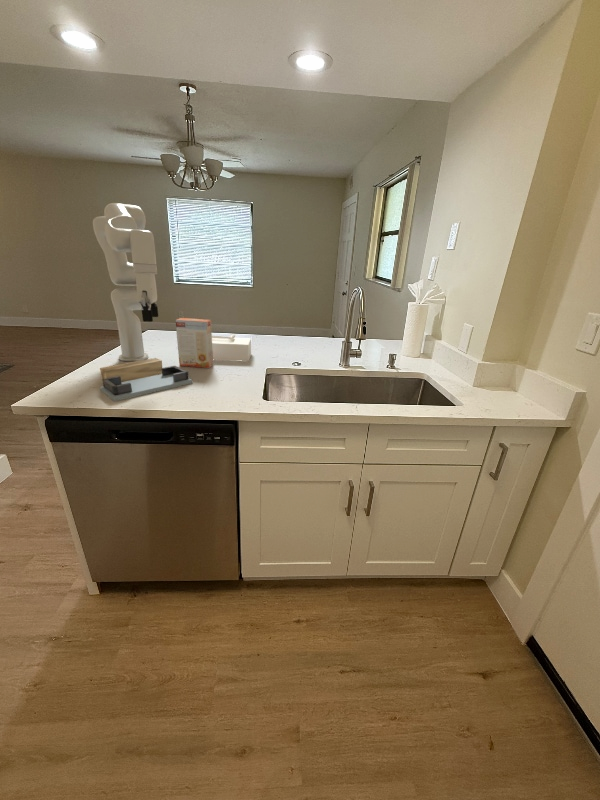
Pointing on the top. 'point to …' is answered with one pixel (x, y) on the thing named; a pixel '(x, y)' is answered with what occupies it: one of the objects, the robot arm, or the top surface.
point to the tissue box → (231, 348)
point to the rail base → (145, 383)
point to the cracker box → (194, 342)
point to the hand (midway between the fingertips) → (151, 319)
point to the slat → (133, 370)
